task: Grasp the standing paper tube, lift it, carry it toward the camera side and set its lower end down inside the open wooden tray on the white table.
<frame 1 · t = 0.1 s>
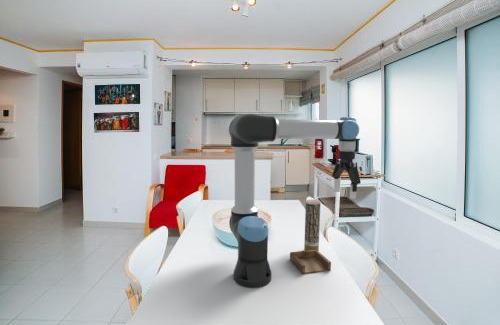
hand: (344, 194, 135), 28 cm above the table, fingers open, 13 cm apart
wooden tray: (309, 264, 124), on the table
paper tube: (311, 252, 137), on the table
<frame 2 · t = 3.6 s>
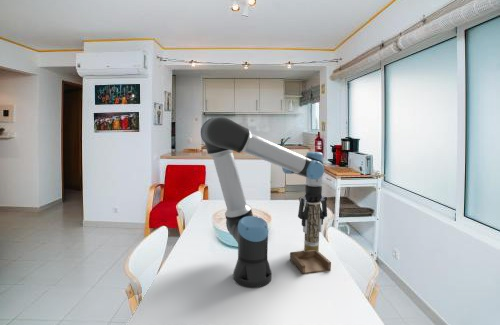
hand: (312, 231, 136), 10 cm above the table, fingers closed on paper tube, 7 cm apart
paper tube: (311, 252, 137), on the table, touching gripper
when the fingers open (11 cm above the table, at t = 9.5 s): paper tube stays where it is, resting on wooden tray.
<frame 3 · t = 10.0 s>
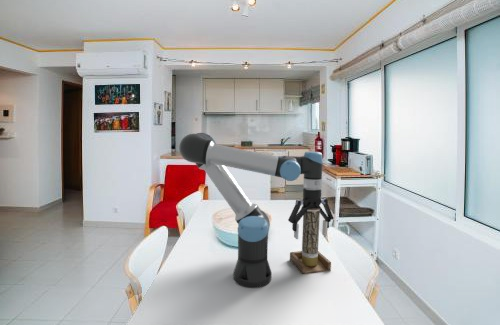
hand: (310, 236, 122), 13 cm above the table, fingers open, 13 cm apart
paper tube: (309, 264, 124), resting on wooden tray
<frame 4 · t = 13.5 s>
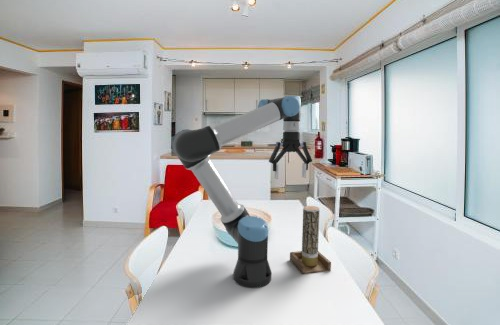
hand: (290, 177, 130), 37 cm above the table, fingers open, 13 cm apart
nothing on the table moved.
at the end: paper tube 0.1 cm from the wooden tray (horizontally); paper tube tilted 0°; the gripper is holding nothing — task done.
